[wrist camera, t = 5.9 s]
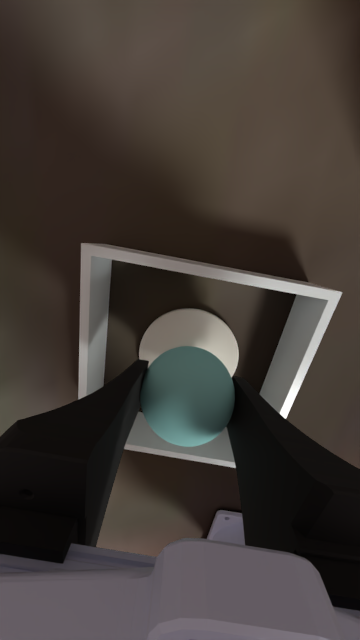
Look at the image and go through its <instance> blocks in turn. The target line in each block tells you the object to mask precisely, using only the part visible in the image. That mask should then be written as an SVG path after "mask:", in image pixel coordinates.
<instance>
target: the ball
mask: <svg viewBox="0 0 360 640" xmlns="http://www.w3.org/2000/svg"><path fill="white" fill-rule="evenodd" d="M140 402H141V407H142V411H143V414H144V417H145V419H146V421H147V423H148V424H149V426H150V427H151V428H152V430H153V431H154V432H155V433H156V434H157V435H158V436H160V437H161V438H162V439H164V440H165V441H167V442H169V443H171V444H175V445H178V446H184V447H193V446H199V445H202V444H205V443H207V442H209V441H211V440H213V439H214V438H216V437H217V436H218V435H219V434H220V433H221V432H222V431H223V430H224V429H225V427H226V426H227V424H228V422H229V420H230V418H231V416H232V413H233V410H234V404H235V389H234V384H233V381H232V378H231V375H230V373H229V372H228V370H227V368H226V367H225V365H224V364H223V363H222V362H221V361H220V360H219V359H218V358H217V357H216V356H215V355H213V354H212V353H210V352H209V351H207V350H204V349H202V348H198V347H193V346H181V347H176V348H173V349H170V350H168V351H166V352H164V353H162V354H161V355H159V356H158V357H157V358H156V359H155V360H154V361H153V362H152V363H151V365H150V366H149V368H148V369H147V371H146V373H145V377H144V380H143V384H142V388H141V394H140Z"/></svg>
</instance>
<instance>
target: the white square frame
mask: <svg viewBox="0 0 360 640" xmlns="http://www.w3.org/2000/svg"><path fill="white" fill-rule="evenodd" d="M112 260H117V261H123V262H128V263H133V264H139V265H144V266H149V267H155V268H160V269H165V270H170V271H176V272H181V273H186V274H192V275H197V276H202V277H208V278H213V279H218V280H224V281H229V282H234V283H240V284H245V285H250V286H256V287H261V288H266V289H272V290H277V291H282V292H288V293H293V294H297V295H296V298H295V300H294V303H293V306H292V308H291V311H290V314H289V316H288V319H287V322H286V324H285V327H284V330H283V332H282V335H281V338H280V340H279V343H278V346H277V348H276V351H275V354H274V356H273V359H272V362H271V364H270V367H269V370H268V372H267V375H266V378H265V380H264V383H263V386H262V388H261V391H260V395H261V396H262V397H263V398H264V399H265V400H266V401H267V402H268V403H269V404H270V405H271V406H272V407H273V408H274V409H275V410H276V411H277V412H278V413H279V414H280V415H282V416H283V417H284V418H285V419H286V417H287V415H288V413H289V410H290V408H291V406H292V404H293V402H294V399H295V397H296V395H297V393H298V390H299V388H300V386H301V384H302V381H303V379H304V377H305V375H306V373H307V370H308V368H309V366H310V364H311V361H312V359H313V357H314V355H315V352H316V350H317V348H318V346H319V344H320V341H321V339H322V337H323V335H324V332H325V330H326V328H327V326H328V323H329V321H330V319H331V317H332V315H333V312H334V310H335V308H336V306H337V303H338V301H339V299H340V297H341V294H342V292H340V291H336V290H333V289H329V288H326V287H323V286H319V285H316V284H312V283H309V282H304V281H298V280H293V279H288V278H282V277H277V276H272V275H267V274H261V273H256V272H251V271H245V270H240V269H235V268H230V267H224V266H219V265H214V264H208V263H203V262H198V261H193V260H187V259H182V258H177V257H171V256H166V255H161V254H156V253H150V252H145V251H140V250H135V249H129V248H124V247H119V246H113V245H108V244H95V243H81V279H80V333H79V387H78V400H79V399H81V398H83V397H85V396H87V395H89V394H91V393H93V392H95V391H97V390H98V389H100V388H102V387H103V386H104V372H105V357H106V342H107V327H108V312H109V297H110V282H111V267H112ZM124 449H127V450H133V451H139V452H144V453H150V454H156V455H162V456H168V457H174V458H180V459H186V460H192V461H197V462H203V463H209V464H215V465H221V466H227V467H233V468H236V465H235V461H234V456H233V452H232V448H231V444H230V439H229V435H228V431H227V427H225V429H224V430H223V431H222V432H221V433H220V434H219V435H218V436H217V437H216V438H214V439H213V440H211V441H209V442H207V443H205V444H202V445H199V446H193V447H184V446H178V445H175V444H171V443H169V442H167V441H165V440H164V439H162V438H161V437H160V436H158V435H157V434H156V433H155V432H154V431H153V430H152V428H151V427H150V426H149V424H148V423H147V421H146V419H145V417H144V414H143V412H138V414H137V416H136V419H135V421H134V424H133V426H132V429H131V431H130V434H129V436H128V439H127V441H126V444H125V447H124Z"/></svg>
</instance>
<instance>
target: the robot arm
mask: <svg viewBox="0 0 360 640" xmlns="http://www.w3.org/2000/svg"><path fill="white" fill-rule="evenodd" d="M148 364H149V361H146V360H141V359H138V360H136V361H135V362H134V363H133V364H132V365H131V366H130V367H128V368H127V369H126V370H125V371H124V372H122V373H121V374H120V375H119V376H117V377H116V378H115V379H113V380H112V381H110V382H109V383H108V384H106V385H105V386H103V387H102V388H100V389H98V390H97V391H95V392H93V393H91V394H89V395H87V396H85V397H83V398H81V399H79V400H77V401H74V402H72V403H70V404H67V405H65V406H62V407H60V408H57V409H54V410H51V411H48V412H45V413H42V414H39V415H35V416H32V417H28V418H25V419H21V420H18V421H17V422H15V423H14V424H13V425H12V426H11V427H10V428H9V429H8V430H7V431H6V432H5V433H4V434H3V435H2V436H1V437H0V640H360V469H358V468H356V467H355V466H353V465H351V464H349V463H348V462H346V461H344V460H343V459H341V458H339V457H338V456H336V455H335V454H333V453H331V452H330V451H328V450H327V449H325V448H324V447H322V446H321V445H319V444H318V443H316V442H315V441H314V440H312V439H311V438H309V437H308V436H306V435H305V434H304V433H302V432H301V431H300V430H299V429H297V428H296V427H295V426H294V425H292V424H291V423H290V422H289V421H287V420H286V419H285V418H284V417H283V416H282V415H280V414H279V413H278V412H277V411H276V410H275V409H274V408H273V407H272V406H271V405H270V404H269V403H268V402H267V401H266V400H265V399H264V398H263V397H262V396H261V395H260V394H259V393H258V392H257V391H256V390H255V389H254V388H253V387H252V386H251V385H250V384H249V383H248V382H247V381H246V380H245V379H244V378H241V377H236V376H232V381H233V384H234V389H235V404H234V410H233V413H232V416H231V418H230V420H229V422H228V424H227V431H228V435H229V439H230V444H231V448H232V452H233V456H234V461H235V465H236V471H237V478H238V485H239V492H240V501H241V509H242V513H237V512H231V511H225V510H219V511H217V513H216V515H215V518H214V520H213V523H212V526H211V528H210V531H209V534H208V536H207V539H203V538H183V539H180V540H177V541H175V542H172V543H169V544H168V545H167V546H166V547H165V548H164V549H163V550H162V551H161V553H160V554H159V555H158V557H154V556H147V555H141V554H135V553H129V552H122V551H116V550H110V549H104V548H97V547H96V544H97V540H98V537H99V533H100V529H101V526H102V522H103V518H104V515H105V511H106V508H107V504H108V501H109V497H110V494H111V490H112V487H113V483H114V480H115V476H116V473H117V469H118V466H119V463H120V459H121V456H122V452H123V450H124V447H125V444H126V441H127V439H128V436H129V434H130V431H131V429H132V426H133V424H134V421H135V419H136V416H137V414H138V411H139V408H140V406H141V402H140V394H141V388H142V384H143V380H144V377H145V373H146V371H147V369H148Z"/></svg>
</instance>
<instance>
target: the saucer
mask: <svg viewBox="0 0 360 640" xmlns="http://www.w3.org/2000/svg"><path fill="white" fill-rule="evenodd" d="M181 346H193V347H198V348H202V349H204V350H207V351H209V352H210V353H212V354H213V355H215V356H216V357H217V358H218V359H219V360H220V361H221V362H222V363H223V364H224V365H225V367H226V368H227V370H228V372H229V373H230V375H231V378H232V376H233V374H234V372H235V370H236V368H237V364H238V358H239V351H238V345H237V342H236V339H235V337H234V335H233V333H232V331H231V330H230V328H229V327H228V326H227V324H226V323H225V322H224V321H223V320H221V319H220V318H219V317H217V316H216V315H214V314H212V313H210V312H207V311H205V310H201V309H195V308H182V309H176V310H172V311H170V312H167V313H165V314H163V315H161V316H160V317H158V318H157V319H156V320H155V321H154V322H153V323H152V324H151V325H150V326H149V327H148V329H147V330H146V332H145V334H144V336H143V338H142V340H141V343H140V348H139V359H141V360H146V361H149V364H148V368H149V366H150V365H151V363H152V362H153V361H154V360H155V359H156V358H157V357H158V356H159V355H161V354H162V353H164V352H166V351H168V350H170V349H173V348H176V347H181Z"/></svg>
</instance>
